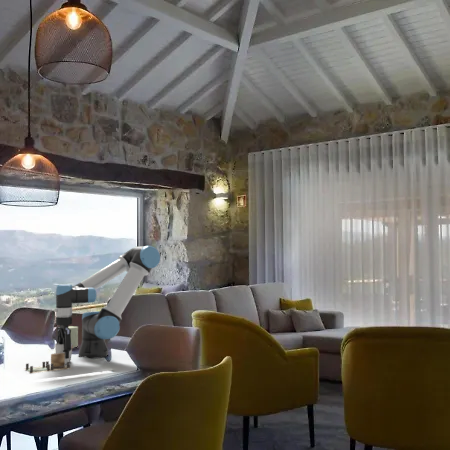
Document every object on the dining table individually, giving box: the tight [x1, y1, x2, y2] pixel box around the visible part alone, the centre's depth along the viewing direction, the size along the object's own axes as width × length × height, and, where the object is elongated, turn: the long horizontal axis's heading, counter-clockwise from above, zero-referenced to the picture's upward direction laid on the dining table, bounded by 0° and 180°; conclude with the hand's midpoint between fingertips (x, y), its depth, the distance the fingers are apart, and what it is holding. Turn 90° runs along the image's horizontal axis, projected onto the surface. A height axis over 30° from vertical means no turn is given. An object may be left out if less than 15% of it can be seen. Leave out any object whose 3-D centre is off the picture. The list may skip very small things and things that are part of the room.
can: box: [68, 325, 79, 349], centre depth 323 cm, size 9×9×12 cm
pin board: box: [24, 360, 73, 374], centre depth 255 cm, size 18×13×4 cm
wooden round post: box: [50, 352, 66, 369], centre depth 257 cm, size 6×6×6 cm
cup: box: [54, 342, 73, 362], centre depth 271 cm, size 8×8×10 cm
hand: (63, 363), depth 270 cm, fingers open, 8 cm apart
